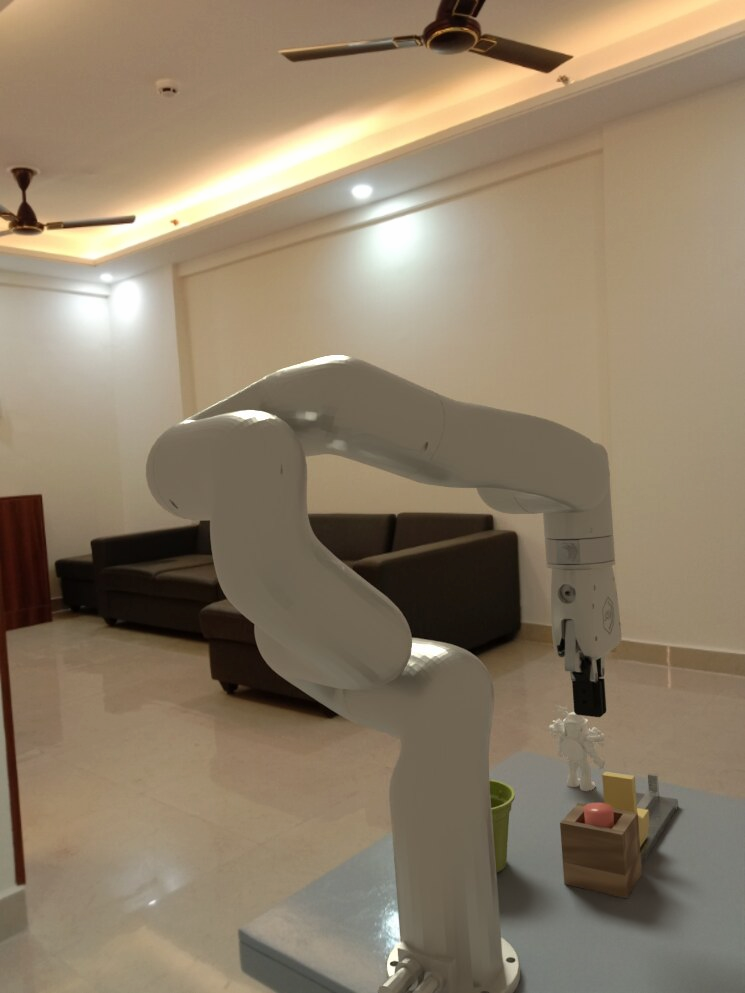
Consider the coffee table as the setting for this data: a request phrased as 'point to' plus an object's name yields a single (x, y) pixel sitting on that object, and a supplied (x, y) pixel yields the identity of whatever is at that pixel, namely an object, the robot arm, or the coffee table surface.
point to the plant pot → (500, 819)
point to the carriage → (625, 798)
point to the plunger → (599, 815)
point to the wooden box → (601, 852)
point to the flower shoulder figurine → (577, 747)
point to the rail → (655, 813)
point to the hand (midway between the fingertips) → (590, 713)
